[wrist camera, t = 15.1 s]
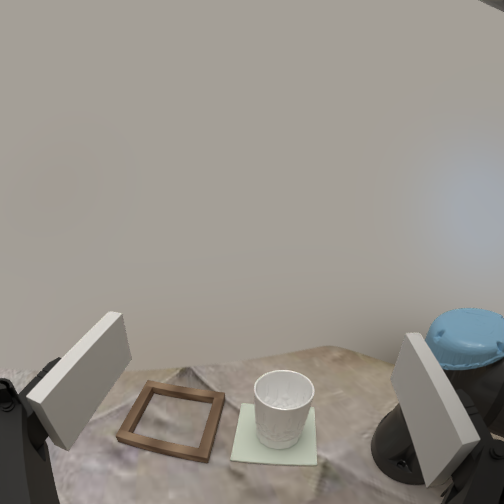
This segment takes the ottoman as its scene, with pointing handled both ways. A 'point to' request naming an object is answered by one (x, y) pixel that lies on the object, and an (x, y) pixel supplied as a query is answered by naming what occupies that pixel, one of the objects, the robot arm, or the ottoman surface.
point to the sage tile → (256, 452)
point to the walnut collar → (169, 448)
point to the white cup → (281, 407)
